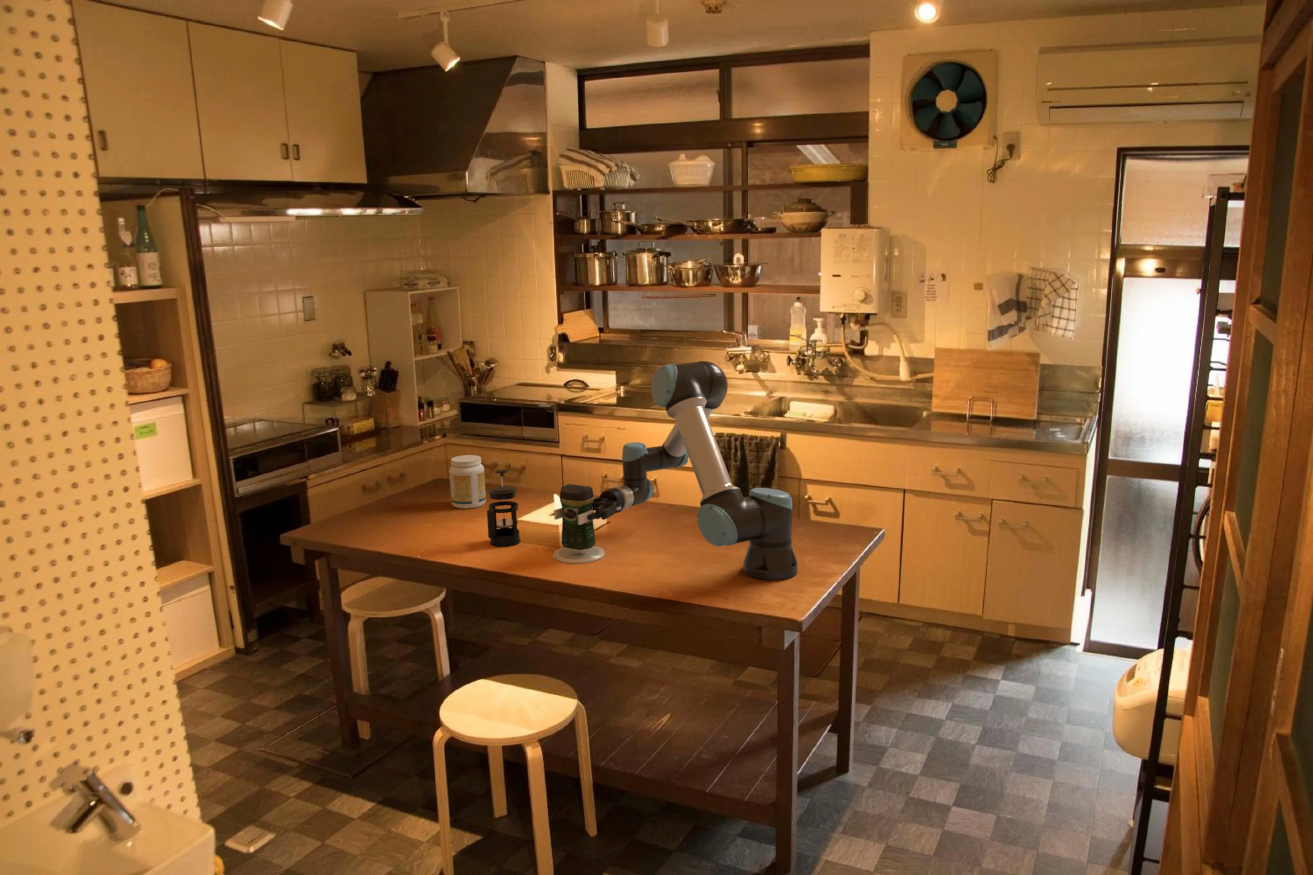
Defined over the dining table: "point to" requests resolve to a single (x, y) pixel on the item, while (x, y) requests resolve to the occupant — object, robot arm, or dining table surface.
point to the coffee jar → (576, 517)
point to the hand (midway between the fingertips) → (566, 517)
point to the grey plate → (579, 555)
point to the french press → (504, 533)
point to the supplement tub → (467, 482)
